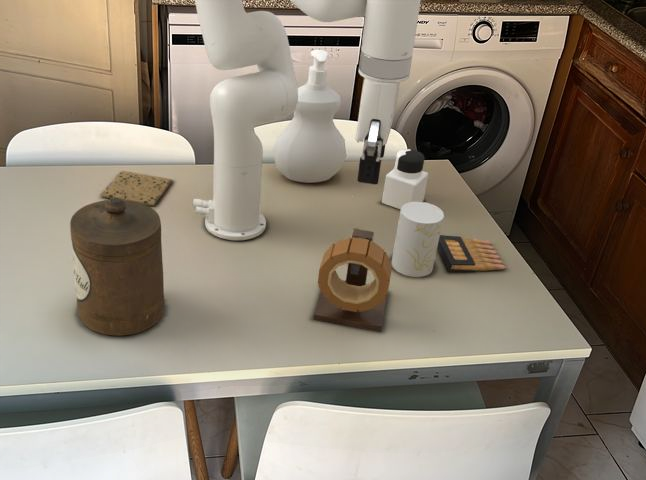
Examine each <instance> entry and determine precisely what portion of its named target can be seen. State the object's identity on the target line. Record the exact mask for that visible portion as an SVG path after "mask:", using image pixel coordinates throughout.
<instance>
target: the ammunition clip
mask: <svg viewBox="0 0 646 480" xmlns="http://www.w3.org/2000/svg"><path fill="white" fill-rule="evenodd" d="M493 244H494V243H493V242H492V241H489V240H484V239H477V238H471V237H470V238H469V237H461V236H460V235H459V236H457V235H446V234H440V237H439V242H438V246H437V250H438V253H439V255H440V256H441V258H442V261H443V263H444V265H445V267H446V268H447V271H448V272H464V273H469V272H470V273H471V272H474V271H483V272H486V271H500V270H505V269H507V268H508V267H507V266H506V265H503V264H504V263H505V261H503V260H501V259H502V257H501V256H499V255H498V254H499V252H498V251H496V250H495V249H496V246H493Z"/></svg>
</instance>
